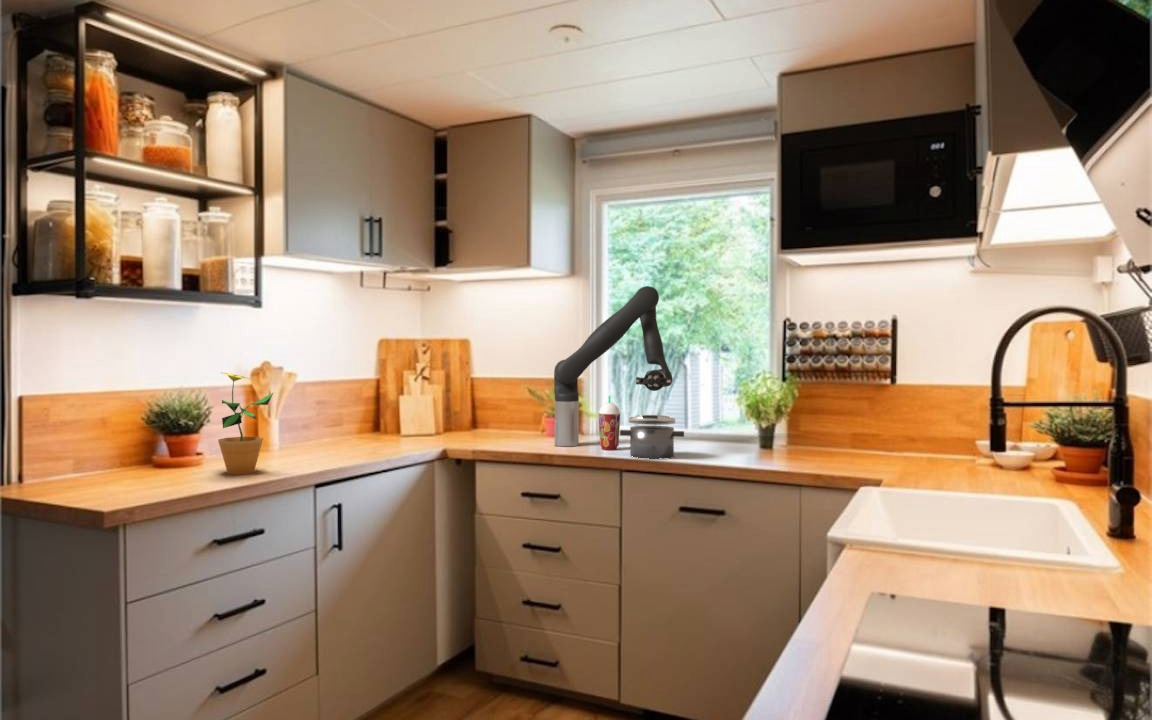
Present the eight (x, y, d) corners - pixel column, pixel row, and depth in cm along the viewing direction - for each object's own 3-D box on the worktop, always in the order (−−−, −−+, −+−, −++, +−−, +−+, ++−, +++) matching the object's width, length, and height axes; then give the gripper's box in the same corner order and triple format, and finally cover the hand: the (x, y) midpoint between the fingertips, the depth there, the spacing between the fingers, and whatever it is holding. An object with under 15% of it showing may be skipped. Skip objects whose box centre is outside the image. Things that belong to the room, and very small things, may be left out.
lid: (631, 424, 277) (631, 418, 277) (676, 425, 274) (676, 419, 274) (625, 419, 258) (625, 413, 259) (673, 420, 256) (673, 413, 256)
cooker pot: (623, 452, 278) (623, 424, 278) (684, 453, 275) (684, 425, 274) (617, 458, 262) (617, 429, 262) (683, 460, 258) (683, 430, 258)
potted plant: (248, 478, 218) (247, 373, 218) (193, 475, 223) (193, 372, 223) (287, 469, 235) (287, 371, 235) (236, 466, 241) (235, 370, 240)
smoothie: (625, 449, 287) (625, 395, 286) (610, 451, 280) (610, 396, 280) (608, 447, 292) (608, 394, 292) (593, 449, 286) (593, 395, 286)
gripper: (637, 369, 283) (632, 370, 266) (673, 370, 281) (670, 371, 264) (637, 390, 283) (631, 392, 266) (673, 390, 281) (670, 393, 264)
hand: (651, 381), depth 265 cm, fingers closed
